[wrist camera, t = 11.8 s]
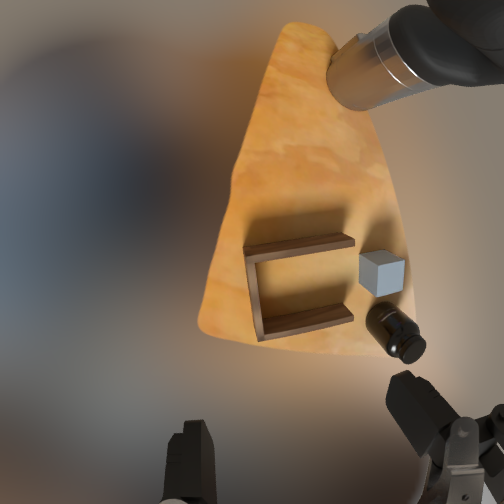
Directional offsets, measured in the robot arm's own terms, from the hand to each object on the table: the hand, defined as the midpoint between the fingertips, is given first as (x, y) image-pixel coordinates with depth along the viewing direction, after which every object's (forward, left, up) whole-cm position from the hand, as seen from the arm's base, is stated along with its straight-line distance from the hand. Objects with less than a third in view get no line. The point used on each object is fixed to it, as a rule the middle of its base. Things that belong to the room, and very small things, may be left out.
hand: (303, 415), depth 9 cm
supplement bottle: (+18, +23, -30) cm, 42 cm away
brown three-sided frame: (+8, +8, -30) cm, 32 cm away
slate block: (+7, +21, -30) cm, 37 cm away
